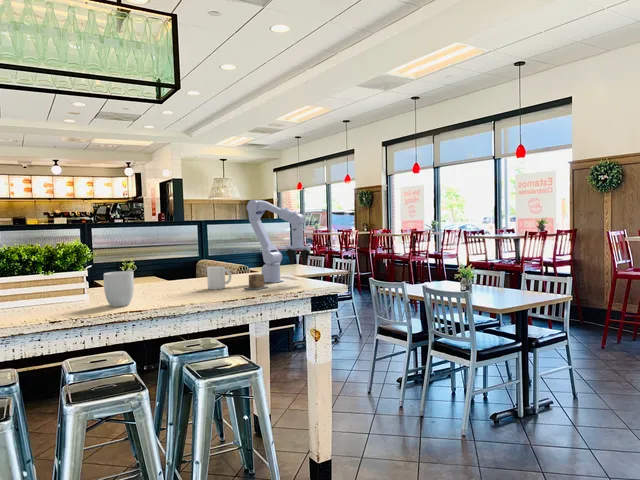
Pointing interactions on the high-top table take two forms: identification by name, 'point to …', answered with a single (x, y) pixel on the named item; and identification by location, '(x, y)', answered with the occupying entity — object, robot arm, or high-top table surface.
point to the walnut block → (256, 280)
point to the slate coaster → (256, 288)
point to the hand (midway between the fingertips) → (298, 264)
